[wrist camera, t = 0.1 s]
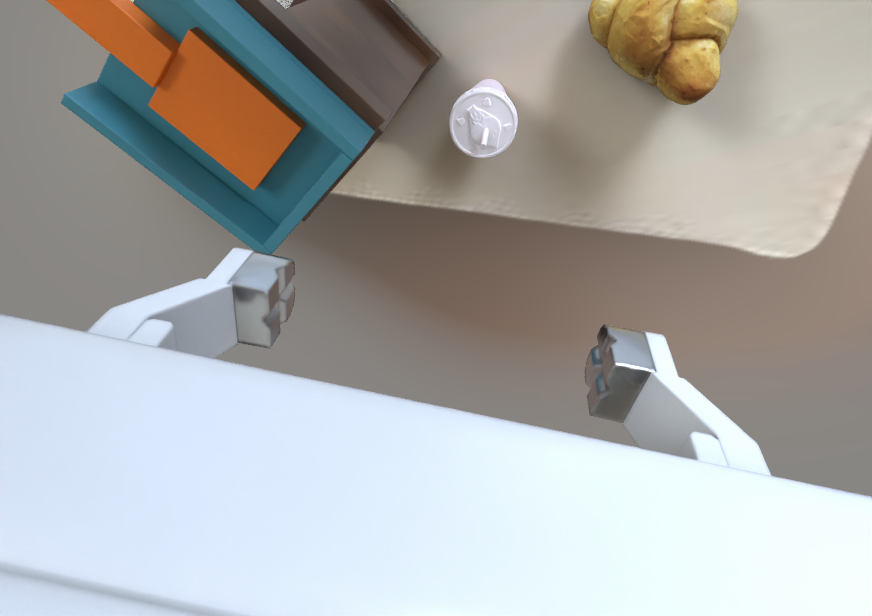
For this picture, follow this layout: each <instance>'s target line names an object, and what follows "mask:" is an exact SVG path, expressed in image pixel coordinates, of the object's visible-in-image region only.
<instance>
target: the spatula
mask: <svg viewBox="0 0 872 616" xmlns="http://www.w3.org/2000/svg"><path fill="white" fill-rule="evenodd" d="M47 1H48V2H49V3H50V4H52V5H53V6H54V7H55V8H56V9H58V10H59V11H60V12H61V13H62V14H64V15H65V16H66V17H67V18H69V19H70V20H71V21H72V22H73V23H75V24H76V25H77V26H78V27H80V28H81V29H82V30H83V31H85V32H86V33H87V34H88V35H89V36H90V37H92V38H93V39H94V40H95V41H97V42H98V43H99V44H100V45H101V46H103V47H104V48H105V49H106V50H108V51H109V52H110V53H111V54H112V55H114V56H115V57H116V58H117V59H118V60H120V61H121V62H122V63H123V64H125V65H126V66H127V67H128V68H129V69H131V70H132V71H133V72H134V73H136V74H137V75H138V76H139V77H140V78H142V79H143V80H144V81H145V82H147V83H148V84H149V85H150V86H151V87H153V88H154V87H157V86H158V88H157V90H156V92H155V93H154V95H153V97H152V99H151V101H150V103H149V104H148V106H149V107H150V108H152V109H153V110H154V111H155V112H157V113H158V114H159V115H160V116H162V117H163V118H164V119H165V120H167V121H168V122H169V123H170V124H171V125H173V126H174V127H175V128H176V129H178V130H179V131H180V132H181V133H183V134H184V135H185V136H186V137H188V138H189V139H190V140H191V141H193V142H194V143H195V144H196V145H198V146H199V147H200V148H201V149H203V150H204V151H205V152H206V153H207V154H209V155H210V156H211V157H212V158H214V159H215V160H216V161H217V162H219V163H220V164H221V165H222V166H224V167H225V168H226V169H227V170H229V171H230V172H231V173H232V174H234V175H235V176H236V177H237V178H238V179H240V180H241V181H242V182H243V183H245V184H246V185H247V186H248V187H250V188H251V189H252V190H253V191H254V190H255V189H256V188H257V187H258V186H259V185H260V184H261V183H262V181H263V180H264V179H265V178H266V176H267V175H268V174H269V172H270V171H271V170H272V168H273V167H274V166H275V165H276V163H277V162H278V161H279V159H280V158H281V157H282V155H283V154H284V153H285V152H286V150H287V149H288V148H289V146H290V145H291V144H292V142H293V141H294V140H295V139H296V137H297V136H298V135H299V133H300V132H301V131H302V129H303V128H304V127H305V126H306V123H305V122H304V121H303V120H301V119H300V118H299V117H298V116H297V115H296V114H295V113H294V112H292V111H291V110H290V109H289V108H288V107H287V106H286V105H285V104H283V103H282V102H281V101H280V100H279V99H278V98H277V97H276V96H274V95H273V94H272V93H271V92H270V91H269V90H268V89H267V88H265V87H264V86H263V85H262V84H261V83H260V82H259V81H258V80H256V79H255V78H254V77H253V76H252V75H251V74H250V73H249V72H247V71H246V70H245V69H244V68H243V67H242V66H241V65H240V64H238V63H237V62H236V61H235V60H234V59H233V58H232V57H231V56H229V55H228V54H227V53H226V52H225V51H224V50H223V49H222V48H221V47H219V46H218V45H217V44H216V43H215V42H214V41H213V40H212V39H210V38H209V37H208V36H207V35H206V34H205V33H204V32H203V31H201V30H200V29H199V28H198V27H195V28H192V29H189V30H188V32H187V34H186V36H185V38H184V40H183V41H182V43H181V44H180V43H179V42H177V41H176V40H175V39H174V38H173V37H172V36H171V35H169V34H168V33H167V32H166V31H165V30H164V29H162V28H161V27H160V26H159V25H158V24H157V23H156V22H154V21H153V20H152V19H151V18H150V17H149V16H147V15H146V14H145V13H144V12H143V11H142V10H141V9H139V8H138V7H137V6H136V5H135V4H134V3H133V2H131V1H130V0H47Z"/></svg>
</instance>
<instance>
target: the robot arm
mask: <svg viewBox="0 0 872 616" xmlns="http://www.w3.org/2000/svg"><path fill="white" fill-rule="evenodd" d="M294 274H295V267H294V262H293V260H292V259H287V258H283V257H279V256H274V255H270V254H265V253H261V252H257V251H256V252H255V251H252V250H247V249H242V248H233V249H232V250H231V251H230V252H229V254H228V255H227V256H226V257H225V258H224V259H223V260H222V261H221V263H220V264H219V265H218V266H217V267H216V268H215V269H214V270H213V271H212V273H211V274H210V275H209V276H208V277H207V278H206V279H200V278H199V279H196V280H194V281H190V282H187V283H185V284H182V285H178V286H175V287H173V288H170V289H167V290H164V291H161V292H158V293H155V294H152V295H149V296H146V297H143V298H140V299H137V300H134V301H131V302H128V303H125V304H122V305H119V306H116V307H113V308H111V309H110V310H108V312H106V313H105V314H104V315H103V316H102V317H101V318H100V319H99V320H98V321H97V322H96V323H95V324H94V325H92V326H91V327H90V328H89V329H88V330H87V331H86V332H84V331H79V330H74V329H70V328H65V327H60V326H55V325H50V324H45V323H41V322H36V321H31V320H27V319H22V318H17V317H12V316H7V315H3V314H0V616H872V497H870V496H865V495H860V494H856V493H851V492H846V491H841V490H837V489H831V488H827V487H822V486H817V485H812V484H808V483H803V482H798V481H793V480H789V479H784V478H779V477H774V476H771V474H770V472H769V469H768V467H767V465H766V462H765V460H764V458H763V456H762V453H761V451H760V449H759V446H758V444H757V443H756V442H755V441H754V440H753V439H751V438H750V437H749V436H748V435H747V434H746V433H745V432H744V431H742V430H741V429H740V428H739V427H738V426H737V425H736V424H734V423H733V422H732V421H731V420H730V419H729V418H728V417H727V416H726V415H725V414H723V413H722V412H721V411H720V410H719V409H718V408H717V407H716V406H714V405H713V404H712V403H711V402H710V401H709V400H708V399H707V398H705V397H704V396H703V395H702V394H701V393H700V392H699V391H698V390H697V389H695V388H694V387H693V386H692V385H691V384H690V383H689V382H688V381H686V380H685V379H682V378H679V377H678V374H677V371H676V368H675V365H674V362H673V359H672V356H671V353H670V350H669V348H668V345H667V342H666V339H665V337H664V336H663V335H660V334H655V333H649V332H644V331H643V332H641V331H636V330H630V329H625V328H620V327H615V326H609V325H603V326H602V327H601V329H600V331H599V333H598V335H597V339H598V345H597V346H596V347H594V348H592V349H591V351H590V353H589V356H588V358H587V362H586V367H585V383H586V385H587V386H588V387H589V388H590V391H589V393H588V396H587V399H588V405H589V414H590V415H591V416H594V417H599V418H603V419H607V420H612V421H616V422H620V423H623V424H622V425H623V426H624V428H625V429H626V430H627V432H628V433H629V434H630V436H631V437H632V439H633V440H634V442H635V443H636V444H637V446H638V447H639V448H636V447H632V446H627V445H622V444H617V443H613V442H608V441H603V440H599V439H594V438H589V437H584V436H579V435H574V434H570V433H565V432H560V431H555V430H551V429H546V428H541V427H536V426H532V425H527V424H522V423H517V422H513V421H508V420H503V419H498V418H494V417H489V416H484V415H479V414H474V413H469V412H464V411H460V410H455V409H450V408H446V407H440V406H436V405H432V404H427V403H422V402H417V401H413V400H408V399H403V398H398V397H394V396H389V395H384V394H379V393H374V392H370V391H365V390H360V389H355V388H351V387H346V386H341V385H336V384H331V383H327V382H322V381H317V380H313V379H308V378H303V377H298V376H294V375H289V374H284V373H279V372H274V371H270V370H265V369H260V368H255V367H251V366H246V365H241V364H236V363H232V362H226V361H222V360H217V359H214V358H216V357H217V356H219V355H220V354H222V353H224V352H226V351H227V350H229V349H231V348H232V347H234V346H236V345H238V343H243V344H248V345H253V346H259V347H264V348H271V347H272V345H273V343H274V342H275V340H276V338H277V337H278V335H279V334H280V324H282V323H284V322H286V321H287V320H288V318H289V316H290V314H291V312H292V308H293V305H294V298H295V287H294V286H293V284H292V283H291V281H290V280H291V279H292V277H293V276H294Z"/></svg>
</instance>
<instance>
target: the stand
mask: <svg viewBox="0 0 872 616" xmlns="http://www.w3.org/2000/svg"><path fill="white" fill-rule="evenodd" d="M235 1H236V2H237V3H238V4H239V5H240V6H241V7H242V8H243V9H244V10H245V11H247V12H248V13H249V14H250V15H251V16H252V17H253V18H254V19H255V20H256V21H257V22H258V23H259V24H260V25H262V26H263V27H264V28H265V29H266V30H267V31H268V32H269V33H270V34H271V35H272V36H273V37H274V38H275V39H277V40H278V41H279V42H280V43H281V44H282V45H283V46H284V47H285V48H286V49H287V50H288V51H289V52H291V53H292V54H293V55H294V56H295V57H296V58H297V59H298V60H299V61H300V62H301V63H302V64H303V65H304V66H306V67H307V68H308V69H309V70H310V71H311V72H312V73H313V74H314V75H315V76H316V77H317V78H318V79H319V80H321V81H322V82H323V83H324V84H325V85H326V86H327V87H328V88H329V89H330V90H331V91H332V92H333V93H334V94H336V95H337V96H338V97H339V98H340V99H341V100H342V101H343V102H344V103H345V104H346V105H347V106H348V107H349V108H351V109H352V110H353V111H354V112H355V113H356V114H357V115H358V116H359V117H360V118H361V119H362V120H363V121H365V122H366V123H367V124H368V125H369V126H370V127H371V128H372V129H373V130H374V131H375V133H374V134H373V136H372V137H371V138H370V140H369V141H368V143H367V144H366V146H365V147H364V148H363V150H362V151H361V153H360V154H359V155H358V156H357V157H356V158H355V160H353V162H352V163H351V164H350V165H349V166H348V168H347V169H346V170H345V171H344V172H343V173H342V174H341V176H340V177H339V178H338V179H337V180H336V181H335V182H334V184H333V185H332V186H331V187H330V188H329V189H328V190H327V192H326V193H325V194H324V195H323V196H322V197H321V198H320V200H319V201H318V202H317V203H316V204H315V205H314V206H313V208H312V209H311V210H310V211H309V212H308V213H307V214H306V215H305V217H304V218H303V219H302V220H303V221H305V220H306V219H307V218H308V217H309V216H310V215H311V213H312V212H313V211H314V210H315V209H316V208H317V207H318V206H319V204H320V203H321V202H322V201H323V200H324V199H325V198H326V196H327V195H328V194H329V193H330V192H331V191H332V190H333V189H334V187H335V186H336V185H337V184H338V183H339V182H340V181H341V179H342V178H343V177H344V176H345V175H346V174H347V173H348V172H349V170H350V169H351V168H352V167H353V166H354V165H355V164H356V162H357V161H358V160H359V159H360V158H361V157H362V156H363V155H364V153H365V152H366V151H367V150H368V149H369V148H370V147H371V145H372V144H373V143H374V142H375V141H376V140H377V139H378V138H379V136H380V135H381V134H382V133H383V132H384V130H385V129H386V127H387V126H388V124H389V123H390V121H391V119H392V118H393V116H394V115H395V113H396V112H397V110H398V109H399V107H400V106H401V104H402V103H403V101H404V100H405V98H406V97H407V95H408V94H409V93H410V92H411V90H412V89H413V88H414V87H415V86H416V85H417V84H418V82H419V81H420V80H421V79H422V78H423V77H424V75H425V74H426V73H427V72H428V71H429V70H430V69H431V67H432V66H433V65H434V64H435V63H436V62H437V61H438V59H439V58H440V57H441V54H440V52H439V51H438V50H437V49H436V48H435V47H434V46H433V45H432V44H431V43H430V42H429V41H428V40H427V39H426V38H425V37H424V36H423V35H422V34H421V32H420V31H419V30H418V29H417V28H416V27H415V26H414V25H413V24H412V23H411V22H410V21H409V20H408V19H407V18H406V17H405V16H404V15H403V14H402V13H401V11H400V10H399V9H398V8H397V7H396V6H395V5H394V4H393V3H392V2H391V1H390V0H293V2H292V3H291V5H290V7H289V8H287V9H284V8H283V7H282V6H281V5H280V4H279V3H278V2H277V1H276V0H235Z"/></svg>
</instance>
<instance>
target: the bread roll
mask: <svg viewBox="0 0 872 616" xmlns="http://www.w3.org/2000/svg"><path fill="white" fill-rule="evenodd" d="M737 14H738V8H737V1H736V0H593V1H592V3H591V6H590V9H589V13H588V21H589V25H590V29H591V33H592V35H593V38H594V39H595V40H596V41H597V42H598V43H599V44H600V45H601V46H603V47H605V48H608V52H609V54H610V56H611V59H612V60H613V62H614V63H615V64H617V65H618V66H619V67H620V68H621V69H623V70H624V71H625V72H626V73H628V74H630V75H631V76H634V77H635V78H637V79H640V80H642V81H645V82H647V83H649V84H650V85H652V86H657V87H658V89H659V90H660V91H661V92H662V93H663V95H664V96H666V97H667V98H668V99H670V100H672V101H674V102H676V103H678V104H682V105H688V104H692V103H695V102H697V101H698V100H700V99H701V98H703V97H704V96H705V95H706V94H708V93H709V92H710V91H711V90H712V89H713V88H714V86H715V85H716V83H717V82H718V80H719V78H720V54H721V52H722V50H723V49H724V47H725V45H726V42H727V38H728V36H729V34H730V32H731V30H732V28H733V26H734V23H735V20H736V17H737Z"/></svg>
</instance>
